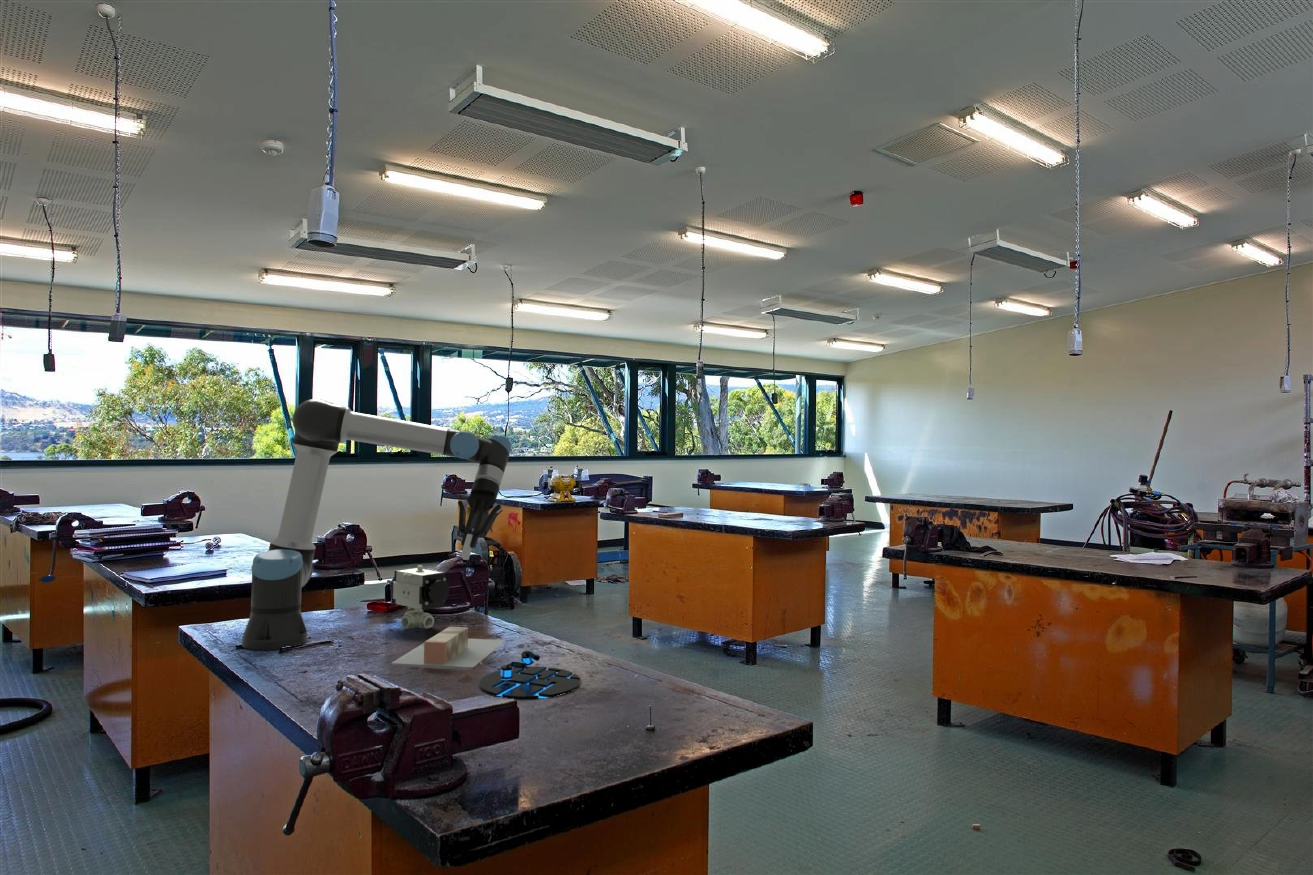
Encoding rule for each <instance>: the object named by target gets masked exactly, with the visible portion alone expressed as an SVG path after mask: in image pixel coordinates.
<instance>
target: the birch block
mask: <svg viewBox="0 0 1313 875" xmlns="http://www.w3.org/2000/svg"><path fill="white" fill-rule="evenodd" d="M468 639H469V627H465V626H463V627H460V626H448V627H446V628H445V629H443V630H441V631H440V632H438V633H437V634H435V635H434V636H432V637H430V638H428V639H427V640H425V641H423V643H424V663H432V664H445V663H447V662H448V661H449V660H451V659H452V658H453V657H455V656H456V655H457V654H459V653H460V652H462V651H463V650H464V649H466V648H467V647H468Z"/></svg>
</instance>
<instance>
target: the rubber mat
mask: <svg viewBox="0 0 1313 875" xmlns="http://www.w3.org/2000/svg"><path fill="white" fill-rule="evenodd" d="M505 642H506V640H505V639H487V638H485V639H484V638H468V647H467V648H466V649H464V650H463V651H462V652H460V653H459V654H457V655H456V656H455V657H453V658H452V659H451V660H449V661H448V662H447V663H445V664H432V663H424V642H423V643H421V644H420V645H418V646H416V647H415V648H413V649H411V650H409V651H408V652H407V653H405V654H404V655H402V656H400V657H398V658H397V659H395V660H394V661H392V662H391V663H390V666H392V667H407V668H408V667H410V668H428V669H429V668H430V669H450V670H451V669H452V670H468V671H469V670H472V671H473V670H474V671H475V669H476V666H477V665H478V664H479V663H481V662H482V661H483V660H485V659H486V658H487V657H488V656H489V655H490V654H491V653H493V652H494V651H495V650H496V649H497V648H499V647H501V645H502V644H503V643H505Z"/></svg>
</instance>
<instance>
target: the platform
mask: <svg viewBox="0 0 1313 875" xmlns="http://www.w3.org/2000/svg"><path fill="white" fill-rule="evenodd" d="M520 655H521V658H520V660H521V661H518V660H513V661H511V662H508V663H507V664H506V665H505V664H504V665H502V666H500V669H499V670H496V671H492V672H490V673H487V674H486V675H485V676H483V677H482V678H481V679H480V680H479V684H478V685H479V689H480V690H481V691H482V692H484V693H486V694H487V695H489V696H493V695H495V696H494V697H496V696H503V697H507V698H506V699H508V698H514V699H513V700H522V701H523V700H524V701H525V700H539V699H538V698H544V699H549V698H548V697H551V698H555V697H554V696H556V697H558V696H557V695H560V694H563V693H567V694H569V693H568V692H570V693H571V691H572V690H574V689H576V688H577V687H578V686H579V685H580V686H581V678H580V676H579V675H578V674H576V673H574V674H573V672H572V671H570V670H567V669H563V668H558V667H557V668H556V667H550V666H549V667H547V666H531V665H533V664H534V661H536V662H538V661H539V660H540V659H541V656H540V655H539V654H538V653H537V652H535V651H534V650H531V649H528V650H524V651H522V652H521V653H520ZM546 669H547V670H546ZM556 672H558V673H556ZM571 675H572V676H571ZM569 676H570V678H567V677H569ZM550 685H552V686H550ZM549 686H550V687H549ZM580 686H579V687H580ZM579 687H578V688H579ZM578 688H577V689H578ZM543 689H545V690H543ZM577 689H576V690H577ZM541 690H542V691H541ZM574 691H575V690H574ZM572 692H573V691H572ZM536 693H539V694H536ZM535 694H536V695H535ZM560 696H561V695H560Z"/></svg>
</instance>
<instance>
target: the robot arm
mask: <svg viewBox="0 0 1313 875" xmlns="http://www.w3.org/2000/svg"><path fill="white" fill-rule="evenodd" d="M292 426H293V429H294V430H295V433H294V436H293V437H294V438H293V441H292V446H293V447H294V448H295V450H296V455H295V460H294V464H293V469H292V472H291V478H290V481H289V486H288V491H287V495H286V499H285V503H284V509H283V512H282V517H281V522H280V525H279V530H278V534H277V537H275V538H273V539H272V540H270V543H269V547H268V550H267V551H262V552H260V553H258V554H256V555H255V556H254V557H253V560H252V564H251V596H250V614H249V619H248V621H247V624H246V626H245V628H244V632H243V634H242V638H241V647H242V648H243V649H245V650H246V649H247V650H253V651H272V650H274V651H275V650H281V649H280V648H282V647H286V646H294V647H296V646H295V645H298V646H300V645H299V644H301V645H303V644H305V643H307V642H308V630H307V627H306V625H305V621H304V617H303V615H302V610H301V609H302V588H303V587H304V586H306V584H308V582H309V581H310V579H311V578H312V575H313V572H314V564H313V562H314V558H315V557H314V556H315V552H316V549H317V548H316V545H315V544H314V543H313V540H312V539H313V534H314V531H315V526H316V522H317V518H318V512H319V508H320V503H321V499H322V494H323V490H324V487H325V481H326V477H327V473H328V472H327V471H328V469H329V463H330V459H331V458H332V456H334V455H335V454H337V453H338V449H339V447H340V443H341V444H342V443H344V442H346V441H354V442H359V443H365V444H367V443H368V444H373V445H379V446H384V447H385V446H386V447H392V448H398V449H404V450H411V451H417V452H423V453H429V454H435V455H442V456H446V457H453V458H457V459H464V460H467V461H470V462H474V463H477V464H479V465H478V468H477V471H476V474H475V477H474V481H473V484H472V487H471V489H470V494H469V496H467V499H465V500H463V501H462V500H458V502H457V506H458V508H459V516H458V531H459V533H460V535H463V537H462V540H461V543H460V545H461V547H462V550H461V553H460V556H461V558H462V560H466V561H469V560H470V557H471V554H472V550H473V549H475V548H476V547H477V543H478V540H479V538H485V537H487V535H488V533H489V531H490V529H491V528H492V526H493V525H494V522H495V520H496V519H497V517H498V516H499V515H500V514H501V513H502V512H503V507H502V506H501V504H498V502H497V497H498V495H499V491H500V486H501V484H502V480H503V478H504V473H505V470H506V468H507V464H508V461H509V458H510V453H511V448H512V442H511V441H510V439H509V438H508V437H506V436H504V435H502V434H498V435H497V434H491V435H489V436H488V437H487V438H482V437H480V436H478V435H477V436H476V435H475V434H474V433H473V432H471V431H468V430H461V429H455V428H452V427H450V428H447V427H442V426H436V425H429V424H426V423H425V424H424V423H420V422H414V421H407V420H401V419H395V418H389V417H384V416H379V415H378V416H377V415H372V414H366V413H361V412H354V411H352V409H351V408H350V407H347V406H343V405H339V404H335V403H333V402H330V401H327V400H324V399H319V398H312V399H307V400H305V401H303V402H302V403H300V404H299V405H298V406H297V407H296V408H295V410H294V411H293V416H292ZM468 505H469V508H470V510H469V515H468V518H467V509H468ZM489 511H490V512H489ZM488 513H489V514H488ZM487 515H488V516H487ZM486 517H487V518H486ZM466 519H467V520H466ZM304 642H305V643H304ZM302 643H303V644H302Z"/></svg>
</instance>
